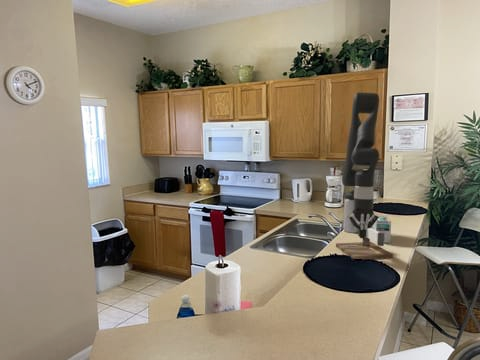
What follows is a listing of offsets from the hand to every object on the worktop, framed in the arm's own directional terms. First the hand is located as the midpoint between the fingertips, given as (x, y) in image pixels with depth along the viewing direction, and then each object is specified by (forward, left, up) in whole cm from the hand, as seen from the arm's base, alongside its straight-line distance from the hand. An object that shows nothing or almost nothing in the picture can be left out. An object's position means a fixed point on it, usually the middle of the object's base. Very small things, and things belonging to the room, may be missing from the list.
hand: (362, 237), depth 144 cm
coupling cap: (-4, +7, -2) cm, 8 cm away
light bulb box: (-21, +21, -8) cm, 31 cm away
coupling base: (-5, +3, -8) cm, 10 cm away
